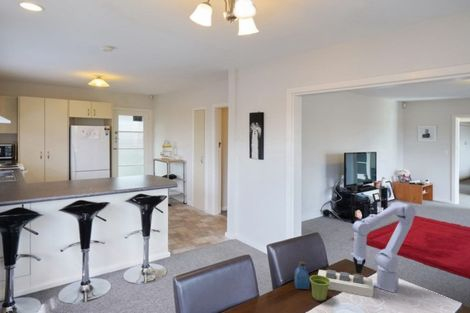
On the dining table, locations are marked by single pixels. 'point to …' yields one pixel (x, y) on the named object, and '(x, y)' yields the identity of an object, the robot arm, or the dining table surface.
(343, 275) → the button middle
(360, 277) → the button
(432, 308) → the dining table surface
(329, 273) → the button
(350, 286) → the button panel
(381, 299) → the dining table surface
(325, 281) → the plant pot
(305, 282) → the perfume bottle
